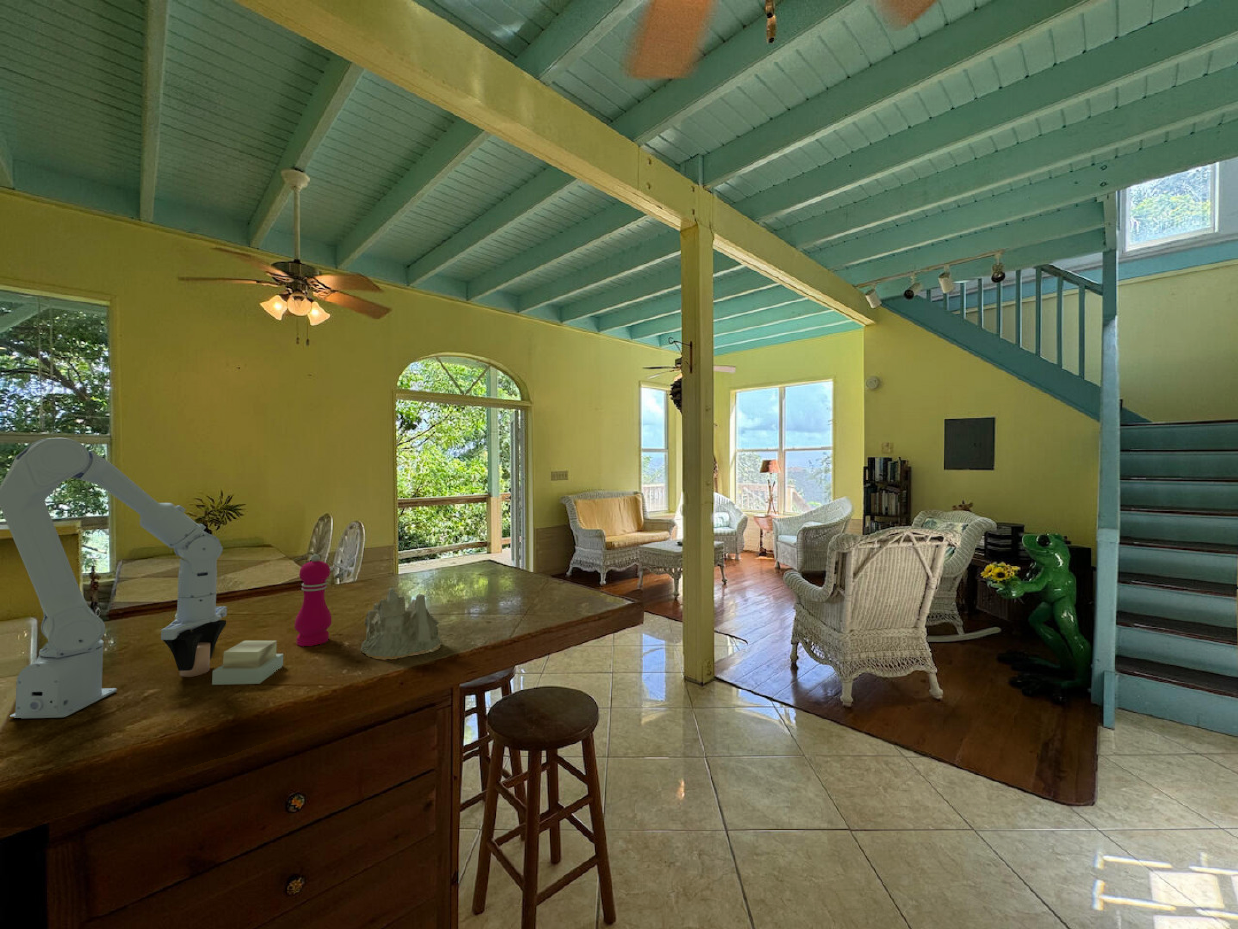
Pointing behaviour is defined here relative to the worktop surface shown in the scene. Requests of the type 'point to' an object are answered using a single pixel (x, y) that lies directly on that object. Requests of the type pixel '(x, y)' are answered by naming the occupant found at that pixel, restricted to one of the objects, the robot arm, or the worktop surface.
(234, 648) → the birch top slab
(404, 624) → the grey rock mountain model
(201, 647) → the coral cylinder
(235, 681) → the grey base slab
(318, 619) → the pepper mill
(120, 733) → the worktop surface
